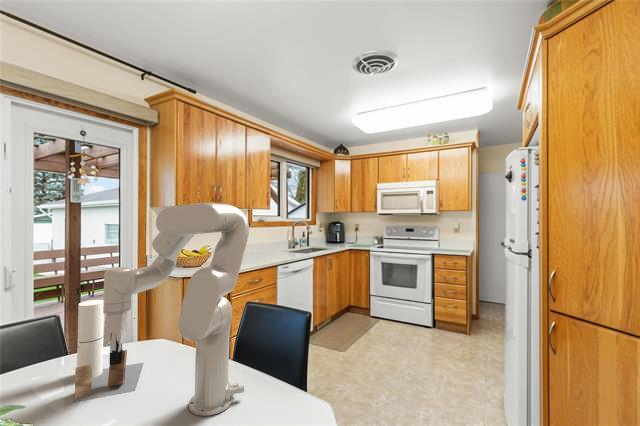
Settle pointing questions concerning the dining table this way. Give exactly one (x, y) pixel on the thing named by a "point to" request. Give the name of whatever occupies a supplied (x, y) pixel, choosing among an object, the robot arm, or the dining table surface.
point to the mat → (103, 390)
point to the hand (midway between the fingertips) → (115, 363)
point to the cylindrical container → (90, 335)
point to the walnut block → (118, 371)
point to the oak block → (83, 381)
